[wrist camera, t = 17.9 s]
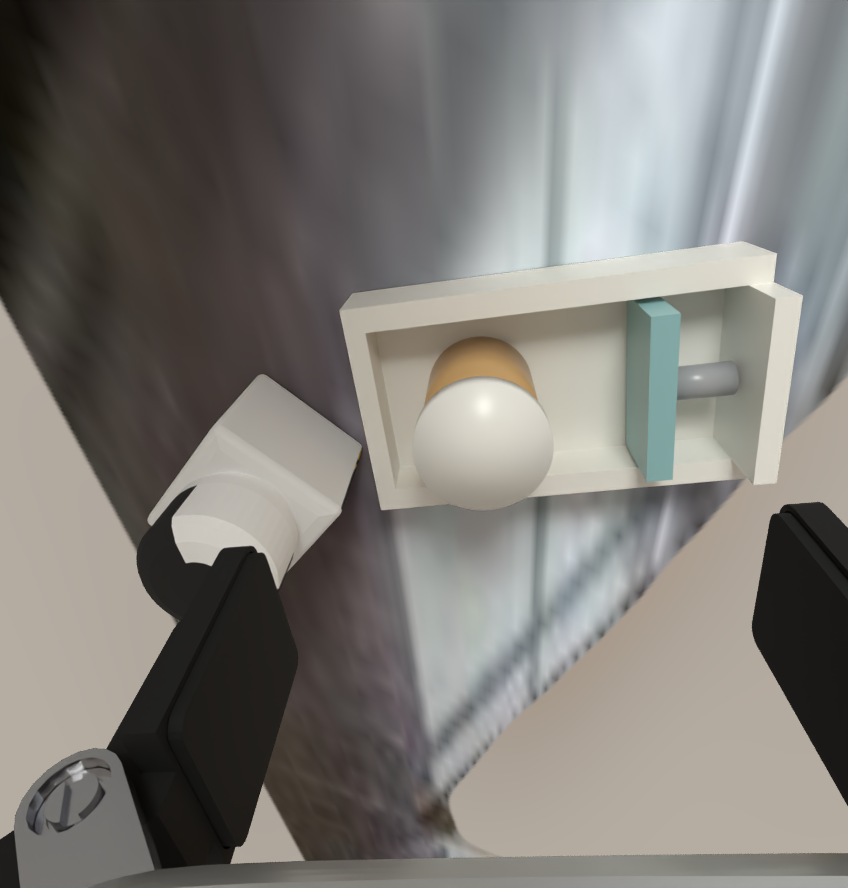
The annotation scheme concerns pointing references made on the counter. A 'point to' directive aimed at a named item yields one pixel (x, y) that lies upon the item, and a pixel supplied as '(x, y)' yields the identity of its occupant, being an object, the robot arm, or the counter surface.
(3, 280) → the counter surface
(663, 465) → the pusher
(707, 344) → the lane
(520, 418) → the jar
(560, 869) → the robot arm
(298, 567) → the counter surface
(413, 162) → the counter surface
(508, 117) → the counter surface
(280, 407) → the medicine bottle
